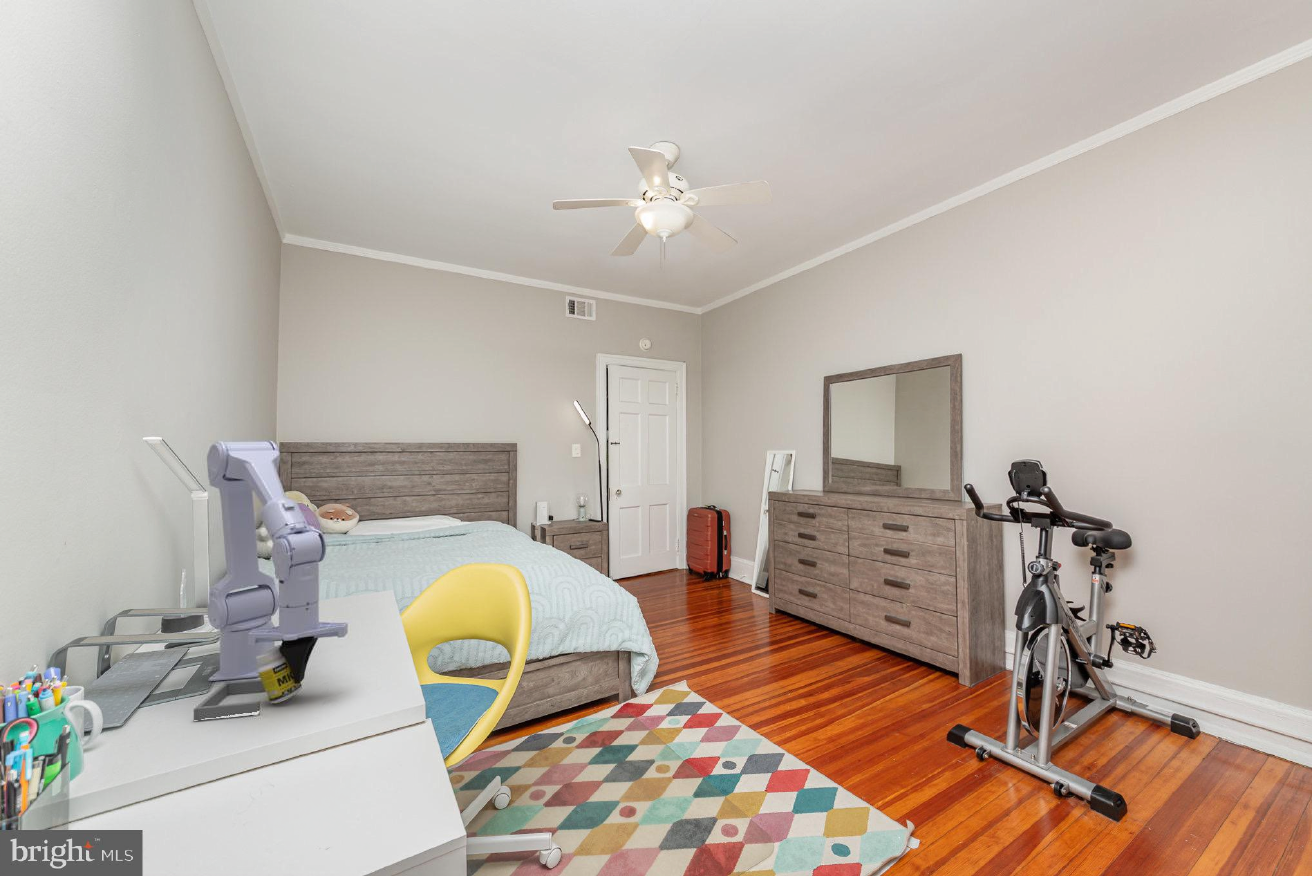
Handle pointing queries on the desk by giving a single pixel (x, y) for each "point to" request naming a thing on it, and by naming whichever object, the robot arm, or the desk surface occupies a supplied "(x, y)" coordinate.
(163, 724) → the desk surface
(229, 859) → the desk surface
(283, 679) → the supplement bottle
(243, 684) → the cradle
